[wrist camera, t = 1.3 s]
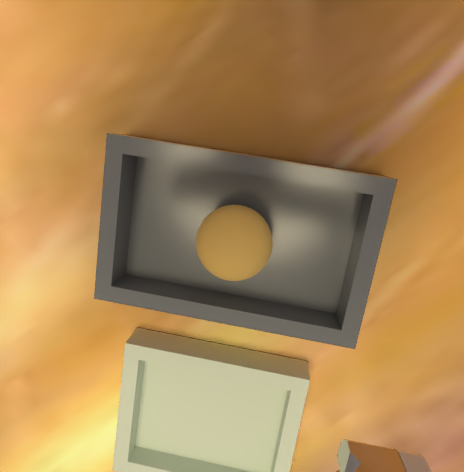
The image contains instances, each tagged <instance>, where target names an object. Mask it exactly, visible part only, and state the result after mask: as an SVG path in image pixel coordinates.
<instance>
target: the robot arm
mask: <svg viewBox="0 0 464 472" xmlns="http://www.w3.org/2000/svg"><path fill="white" fill-rule="evenodd" d="M337 458H338V463H339V470H338V471H337V472H431V470H430V468H429V466H428V464H427V462H426V460H425V458H424V457H423V456H422V455H421V454H420V453H416V452H411V451H405V450H400V449H390V448H385V447H380V446H376V445H371V444H366V443H361V442H356V441H351V440H346V439H343V440H342V442H341V444H340V447H339V451H338V454H337Z"/></svg>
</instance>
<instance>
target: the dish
mask: <svg viewBox="0 0 464 472" xmlns="http://www.w3.org/2000/svg"><path fill="white" fill-rule="evenodd" d="M396 182H397V179H394V178H390V177H386V176H382V175H376V174H370V173H363V172H357V171H351V170H345V169H338V168H332V167H326V166H320V165H313V164H307V163H301V162H295V161H288V160H282V159H276V158H269V157H263V156H257V155H251V154H244V153H238V152H232V151H226V150H219V149H213V148H207V147H201V146H194V145H188V144H182V143H176V142H169V141H163V140H157V139H151V138H144V137H138V136H132V135H125V134H113V133H107V139H106V152H105V165H104V178H103V191H102V204H101V217H100V230H99V243H98V255H97V268H96V281H95V294H94V299H100V300H105V301H110V302H115V303H120V304H125V305H130V306H136V307H141V308H146V309H151V310H156V311H161V312H167V313H172V314H177V315H182V316H187V317H192V318H198V319H203V320H208V321H213V322H218V323H223V324H228V325H234V326H239V327H244V328H249V329H254V330H259V331H265V332H270V333H275V334H280V335H285V336H290V337H296V338H301V339H306V340H311V341H316V342H321V343H326V344H332V345H337V346H342V347H347V348H352V349H355V347H356V343H357V339H358V335H359V331H360V327H361V323H362V319H363V315H364V311H365V307H366V303H367V299H368V295H369V291H370V287H371V283H372V279H373V275H374V271H375V267H376V262H377V258H378V254H379V250H380V246H381V242H382V238H383V234H384V230H385V226H386V222H387V218H388V214H389V210H390V206H391V202H392V198H393V194H394V190H395V186H396ZM226 205H242V206H246V207H249V208H251V209H253V210H255V211H256V212H258V213H259V214H260V215H261V216H262V217H263V218H264V219H265V221H266V222H267V224H268V226H269V228H270V231H271V234H272V242H273V245H272V251H271V255H270V258H269V260H268V262H267V263H266V265H265V266H264V268H263V269H262V270H261V271H260V272H258V273H257V274H256V275H254V276H252V277H250V278H248V279H245V280H241V281H228V280H224V279H221V278H218V277H216V276H214V275H213V274H212V273H210V272H209V271H208V270H207V269H206V268H205V267H204V265H203V264H202V262H201V261H200V259H199V256H198V253H197V248H196V237H197V232H198V230H199V227H200V225H201V223H202V222H203V220H204V219H205V218H206V217H207V216H208V215H209V214H210V213H211V212H212V211H214V210H216V209H218V208H220V207H223V206H226Z"/></svg>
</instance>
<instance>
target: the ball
mask: <svg viewBox="0 0 464 472" xmlns="http://www.w3.org/2000/svg"><path fill="white" fill-rule="evenodd" d="M272 245H273V242H272V234H271V231H270V228H269V226H268V224H267V222H266V221H265V219H264V218H263V217H262V216H261V215H260V214H259V213H258V212H256V211H255V210H253V209H251V208H249V207H246V206H242V205H226V206H223V207H220V208H218V209H216V210H214V211H212V212H211V213H210V214H209V215H208V216H207V217H206V218H205V219H204V220H203V222H202V223H201V225H200V227H199V230H198V232H197V237H196V248H197V253H198V256H199V259H200V261H201V262H202V264H203V265H204V267H205V268H206V269H207V270H208V271H209V272H210V273H212V274H213V275H214V276H216V277H218V278H221V279H224V280H228V281H241V280H245V279H248V278H250V277H252V276H254V275H256V274H257V273H258V272H260V271H261V270H262V269H263V268H264V266H265V265H266V263H267V262H268V260H269V258H270V255H271V251H272Z"/></svg>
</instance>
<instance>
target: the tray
mask: <svg viewBox="0 0 464 472" xmlns="http://www.w3.org/2000/svg"><path fill="white" fill-rule="evenodd" d="M309 382H310V377H309V370H308V362H307V361H304V360H299V359H294V358H289V357H284V356H279V355H274V354H269V353H264V352H259V351H254V350H249V349H244V348H239V347H234V346H228V345H223V344H218V343H213V342H208V341H203V340H198V339H193V338H188V337H183V336H178V335H173V334H168V333H163V332H158V331H153V330H148V329H143V328H138V327H137V329H136V330H135V331H134V333H133V334H132V335H131V336H130V338H129V339H128V340H127V341H126V343H125V350H124V360H123V370H122V381H121V391H120V401H119V411H118V421H117V431H116V441H115V451H114V461H113V471H117V472H289V471H290V467H291V463H292V458H293V454H294V449H295V445H296V440H297V436H298V431H299V427H300V422H301V418H302V413H303V409H304V405H305V400H306V396H307V391H308V387H309Z"/></svg>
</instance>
